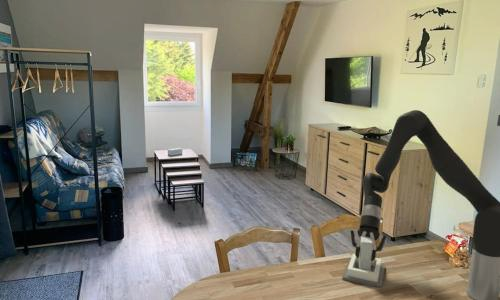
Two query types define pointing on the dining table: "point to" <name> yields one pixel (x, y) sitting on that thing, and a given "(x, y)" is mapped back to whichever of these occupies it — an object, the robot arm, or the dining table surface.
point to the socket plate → (364, 272)
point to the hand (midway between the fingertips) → (364, 258)
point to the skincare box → (365, 253)
